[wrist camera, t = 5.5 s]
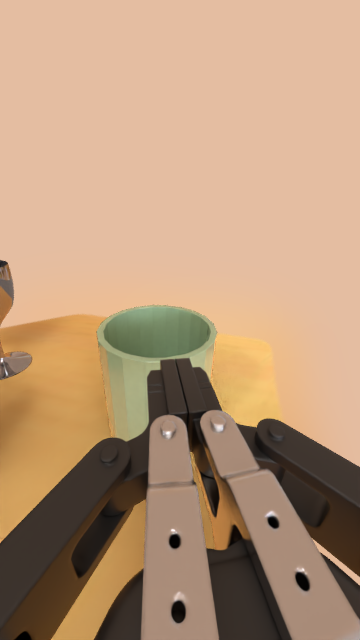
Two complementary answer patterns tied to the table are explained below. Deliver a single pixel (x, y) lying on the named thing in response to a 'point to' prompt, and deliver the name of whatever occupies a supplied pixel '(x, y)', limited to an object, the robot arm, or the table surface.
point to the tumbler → (147, 357)
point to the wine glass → (3, 296)
